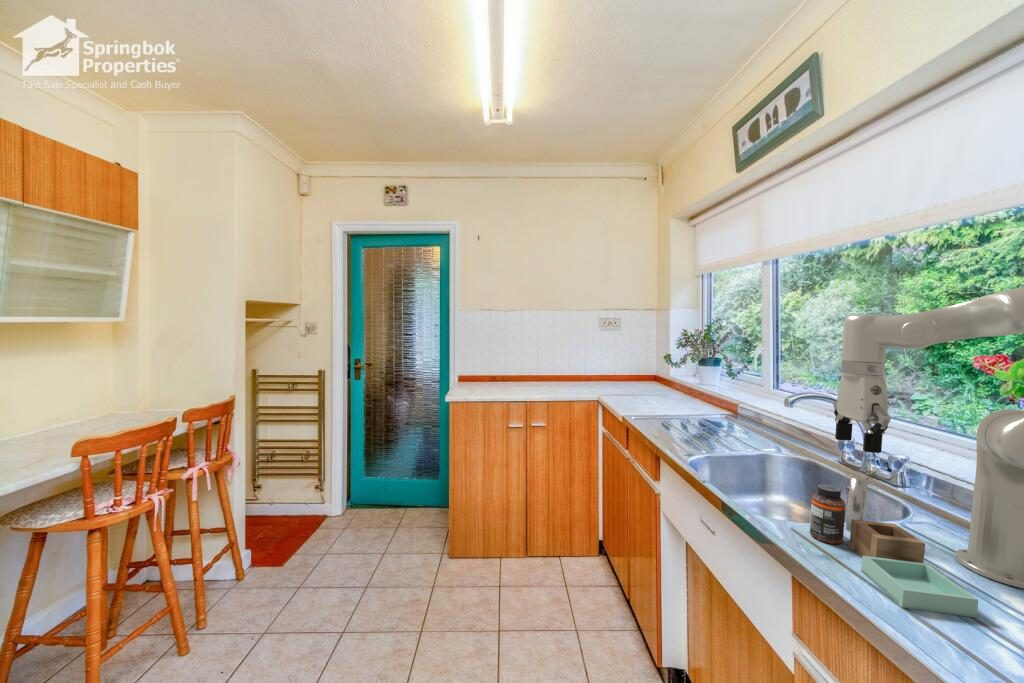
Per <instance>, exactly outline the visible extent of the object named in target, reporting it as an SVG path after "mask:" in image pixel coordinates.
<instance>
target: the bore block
mask: <svg viewBox="0 0 1024 683" xmlns="http://www.w3.org/2000/svg"><path fill="white" fill-rule="evenodd" d="M849 536H850V538H849V549H850V550H852V551H853V552H854V553H856V554H857V555H858V556H859V557H861V558H862V556H869V557H877V558H886V559H894V560H902V561H911V562H919V563H924V560H925V548H926V543H925V542H923V541H922V540H921V539H919V538H918V537H916V536H914V535H913V534H911V533H910V532H908V531H907V530H906V529H903V527H901V526H900V525H897V524H896V523H888V522H883V521H882V522H879V521H871V520H865V521H864V520H854V519H852V523H851V532H850V535H849Z"/></svg>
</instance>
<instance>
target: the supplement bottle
mask: <svg viewBox="0 0 1024 683" xmlns="http://www.w3.org/2000/svg"><path fill="white" fill-rule="evenodd" d="M841 493H842V490H841V489H840V488H839V487H837V486H834V485H830V484H819V485H818V486H817V492H815V493H814V494H813V495H812V498H811V507H810V508H811V509H810V521H809V534H810V536H811V537H813V538H814V539H816V540H817V541H820V542H822V543H827V544H831V545H837V544H838V545H839V544H842V543H843V541H844V531H845V522H846V509H847V508H846V502H845V501H844V499H843V498H842V497H841V496H842V494H841Z"/></svg>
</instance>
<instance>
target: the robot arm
mask: <svg viewBox="0 0 1024 683" xmlns="http://www.w3.org/2000/svg"><path fill="white" fill-rule="evenodd" d="M1019 334H1024V286H1021V287H1017V288H1012V289H1007V290H1002V291H997V292H994V293H990V294H986V295H983V296H980V297H977V298H974V299H972V300H967V301H965V302H960V303H957V304H953V305H952V304H951V305H948V306H942V307H939V308H934V309H930V310H925V311H920V312H915V313H905V314H889V315H888V314H887V315H883V314H876V313H874V314H873V313H872V314H871V313H868V314H867V313H865V314H864V313H861V314H860V313H859V314H858V313H855V314H848V315H847V316H846V317H845V319H844V322H843V336H842V350H841V351H842V353H841V364H840V365H841V367H840V375H841V376H840V381H839V386H838V390H837V399H836V400H835V401H833V403H832V405H833V408H834V411H833V413H834V415H835V417H834V421H835V437H834V438H835V440H837V441H845V442H846V441H849V442H851V441H852V437H853V423H851V422H852V420H853V421H854V422H855V421H856V422H859V423H862V424H863V426H864V429H865V432H864V435H863V447H862V451H863V452H865V453H874V454H875V453H877V454H880V453H881V452H882V446H883V435H885V433H886V430H887V429H888V428H889V427H888V426H889V424H890V422H891V419H892V417H891V416H890V414H889V413H888V409H889V408H888V405H889V404H888V401H889V397H888V386H887V382H886V378H885V368H886V365H885V364H886V352H887V351H886V350H887V347H891V348H899V349H902V350H903V349H904V350H912V351H916V350H921V349H925V348H928V347H929V346H931V345H937V344H943V343H949V342H954V341H960V340H967V339H974V338H984V337H985V338H986V337H987V338H988V337H990V338H991V337H1005V336H1011V335H1019ZM975 439H976V463H975V464H976V467H975V478H974V486H973V493H972V494H973V496H972V504H971V516H970V523H969V531H968V532H969V533H968V542H967V548H962V549H959V550H957V551H956V552H955V559H956V561H957V562H958V563H959V564H961V565H962V566H963V567H965V568H967V569H968V570H970V571H972V572H974V573H976V574H977V575H980V576H983V577H985V578H988V579H991V580H993V581H995V582H998V583H1002V584H1004V585H1005V584H1006V585H1008V586H1012V587H1015V588H1019V589H1024V410H1022V409H1015V408H1008V409H1007V408H1006V409H999V410H996V411H992V412H991V413H989V414H987V415H986V416H985V417H984V418H983V419H981V421H980V422H979V425H978V426H977V429H976V437H975Z"/></svg>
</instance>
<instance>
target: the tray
mask: <svg viewBox="0 0 1024 683" xmlns="http://www.w3.org/2000/svg"><path fill="white" fill-rule="evenodd" d="M860 571H861V573H862V574H863V575H865V576H866V577H867V578H868V579H869V580H870V581H872V582H873V584H875V585H876V586H877V587H878V588H879V589H880V590H882V591H883V592H884V593H885V594H886V595H888V597H889V598H891V600H892V601H894V602H895V603H896V604H897V605H898V606H900V608H903V609H910V610H916V611H924V612H931V613H938V614H939V613H940V614H944V615H945V614H946V615H954V616H961V617H968V618H969V617H970V618H977V616H978V608H979V607H978V606H979V599H978V598H977V597H975V596H974V595H973V594H971V593H969V592H968V591H966V590H965V589H964V588H962V587H961V586H960V585H958V584H957V583H955V582H954V581H952V580H951V579H949V578H948V577H947V576H945V575H944V574H942V573H941V572H939V571H938V570H937V569H935V568H934V567H932V566H931V565H929V564H928V563H924V562H923V563H919V562H911V561H902V560H894V559H886V558H877V557H869V556H862V557H861V570H860Z"/></svg>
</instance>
